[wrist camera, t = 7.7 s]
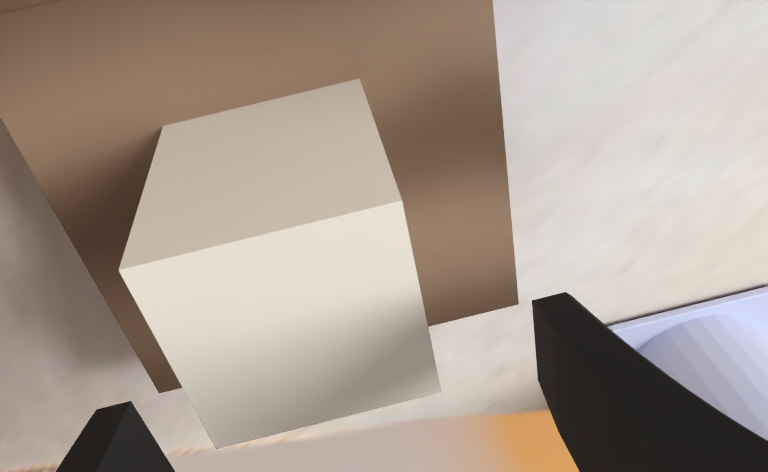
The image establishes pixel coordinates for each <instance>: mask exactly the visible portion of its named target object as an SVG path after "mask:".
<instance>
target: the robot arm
mask: <svg viewBox="0 0 768 472" xmlns="http://www.w3.org/2000/svg"><path fill="white" fill-rule="evenodd" d="M532 306H533V320H534V333H535V346H536V359H537V372H538V381H539V383H540V386H541V388H542V391H543V394H544V396H545V399H546V401H547V404H548V407H549V409H550V412H551V414H552V416H553V419H554V421H555V424H556V426H557V428H558V431H559V433H560V435H561V437H562V439H563V441H564V443H565V445H566V447H567V448H568V450H569V452H570V454H571V456H572V458H573V460H574V462H575V463H576V465H577V467H578V469H579V471H580V472H768V286H767V287H763V288H759V289H755V290H751V291H747V292H743V293H739V294H735V295H731V296H727V297H723V298H719V299H715V300H711V301H707V302H703V303H699V304H695V305H691V306H687V307H683V308H679V309H675V310H671V311H667V312H663V313H659V314H655V315H651V316H647V317H643V318H639V319H635V320H631V321H627V322H623V323H619V324H615V325H611V326H608V327H607V326H606V325H605V324H603V323H602V322H601V321H600V320H599V319H598V318H596V317H595V316H594V315H593V314H592V313H591V312H589V311H588V310H587V309H586V308H585V307H584V306H583V305H581V304H580V303H579V302H578V301H577V300H576V299H575V298H574V297H573V296H571V295H570V294H568V293H566V292H564V293H560V294H556V295H552V296H548V297H544V298H540V299H536V300H532ZM56 472H175V471H174V469H173V468H172V466H171V464H170V463H169V461H168V460H167V458H166V456H165V455H164V453H163V452H162V450H161V448H160V447H159V445H158V444H157V442H156V441H155V439H154V437H153V436H152V434H151V433H150V431H149V429H148V428H147V426H146V425H145V423H144V421H143V420H142V418H141V417H140V415H139V413H138V412H137V410H136V409H135V407H134V405H133V404H132V402H131V401H129V402H125V403H121V404H117V405H113V406H109V407H105V408H101V409H97V410H96V411H95V413H94V414H93V416H92V417H91V418H90V420H89V421H88V423H87V424H86V426H85V427H84V429H83V430H82V432H81V434H80V435H79V437H78V438H77V440H76V441H75V443H74V444H73V446H72V447H71V449H70V451H69V452H68V454H67V455H66V457H65V458H64V460H63V461H62V463H61V464H60V466H59V467H58V469H57V471H56Z"/></svg>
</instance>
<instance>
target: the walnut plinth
mask: <svg viewBox="0 0 768 472" xmlns="http://www.w3.org/2000/svg"><path fill="white" fill-rule="evenodd" d="M355 79H360V81H361V84H362V87H363V90H364V92H365V95H366V98H367V101H368V104H369V107H370V110H371V113H372V115H373V118H374V121H375V124H376V127H377V130H378V133H379V136H380V138H381V141H382V144H383V147H384V150H385V153H386V156H387V158H388V161H389V164H390V167H391V170H392V173H393V176H394V179H395V181H396V184H397V187H398V190H399V193H400V196H401V199H402V202H403V207H404V212H405V217H406V222H407V227H408V232H409V237H410V241H411V246H412V251H413V256H414V261H415V266H416V271H417V276H418V281H419V285H420V290H421V295H422V300H423V305H424V310H425V315H426V320H427V325H428V326H432V325H436V324H440V323H444V322H448V321H453V320H457V319H461V318H465V317H469V316H473V315H477V314H481V313H485V312H489V311H493V310H497V309H501V308H505V307H509V306H513V305H517V304H519V303H518V292H517V280H516V269H515V257H514V245H513V234H512V222H511V211H510V199H509V188H508V176H507V165H506V153H505V141H504V130H503V118H502V107H501V95H500V84H499V72H498V60H497V49H496V37H495V26H494V14H493V3H492V0H0V118H1V120H2V121H3V123H4V125H5V127H6V128H7V130H8V132H9V134H10V135H11V137H12V139H13V141H14V142H15V144H16V146H17V147H18V149H19V151H20V153H21V154H22V156H23V158H24V160H25V161H26V163H27V165H28V167H29V168H30V170H31V172H32V173H33V175H34V177H35V179H36V180H37V182H38V184H39V186H40V187H41V189H42V191H43V193H44V194H45V196H46V198H47V199H48V201H49V203H50V205H51V206H52V208H53V210H54V212H55V213H56V215H57V217H58V219H59V220H60V222H61V224H62V225H63V227H64V229H65V231H66V232H67V234H68V236H69V238H70V239H71V241H72V243H73V245H74V246H75V248H76V250H77V251H78V253H79V255H80V257H81V258H82V260H83V262H84V264H85V265H86V267H87V269H88V271H89V272H90V274H91V276H92V278H93V279H94V281H95V283H96V284H97V286H98V288H99V290H100V291H101V293H102V295H103V297H104V298H105V300H106V302H107V304H108V305H109V307H110V309H111V310H112V312H113V314H114V316H115V317H116V319H117V321H118V323H119V324H120V326H121V328H122V330H123V331H124V333H125V335H126V336H127V338H128V340H129V342H130V343H131V345H132V347H133V349H134V350H135V352H136V354H137V356H138V357H139V359H140V361H141V362H142V364H143V366H144V368H145V369H146V371H147V373H148V375H149V376H150V378H151V380H152V382H153V383H154V385H155V387H156V388H157V390H158V392H159V393H162V392H166V391H170V390H174V389H178V388H182V386H181V384H180V382H179V380H178V378H177V377H176V375H175V373H174V371H173V369H172V367H171V366H170V364H169V362H168V360H167V358H166V356H165V355H164V353H163V351H162V349H161V347H160V345H159V344H158V342H157V340H156V338H155V336H154V334H153V333H152V331H151V329H150V327H149V325H148V323H147V322H146V320H145V318H144V316H143V314H142V312H141V311H140V309H139V307H138V305H137V303H136V302H135V300H134V298H133V296H132V294H131V292H130V291H129V289H128V287H127V285H126V283H125V281H124V280H123V278H122V276H121V274H120V272H119V267H120V264H121V260H122V257H123V254H124V251H125V248H126V244H127V241H128V238H129V235H130V231H131V228H132V225H133V222H134V218H135V215H136V212H137V209H138V205H139V202H140V199H141V196H142V193H143V189H144V186H145V183H146V180H147V176H148V173H149V170H150V167H151V163H152V160H153V157H154V154H155V151H156V147H157V144H158V141H159V138H160V134H161V131H162V128H163V126H165V125H169V124H174V123H178V122H182V121H186V120H190V119H194V118H198V117H203V116H207V115H211V114H215V113H219V112H223V111H227V110H231V109H236V108H240V107H244V106H248V105H252V104H256V103H260V102H264V101H269V100H273V99H277V98H281V97H285V96H289V95H293V94H298V93H302V92H306V91H310V90H314V89H318V88H322V87H326V86H331V85H335V84H339V83H343V82H347V81H351V80H355Z"/></svg>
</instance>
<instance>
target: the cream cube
mask: <svg viewBox="0 0 768 472" xmlns="http://www.w3.org/2000/svg"><path fill="white" fill-rule="evenodd" d="M119 272H120V274H121V276H122V278H123V280H124V281H125V283H126V285H127V287H128V289H129V291H130V292H131V294H132V296H133V298H134V300H135V302H136V303H137V305H138V307H139V309H140V311H141V312H142V314H143V316H144V318H145V320H146V322H147V323H148V325H149V327H150V329H151V331H152V333H153V334H154V336H155V338H156V340H157V342H158V344H159V345H160V347H161V349H162V351H163V353H164V355H165V356H166V358H167V360H168V362H169V364H170V366H171V367H172V369H173V371H174V373H175V375H176V377H177V378H178V380H179V382H180V384H181V386H182V388H183V389H184V391H185V393H186V395H187V397H188V398H189V400H190V402H191V404H192V406H193V408H194V409H195V411H196V413H197V415H198V417H199V419H200V420H201V422H202V424H203V426H204V428H205V430H206V431H207V433H208V435H209V437H210V439H211V441H212V442H213V444H214V446H215V448H216V449H218V448H222V447H226V446H230V445H234V444H238V443H242V442H246V441H250V440H254V439H258V438H262V437H266V436H270V435H274V434H278V433H282V432H286V431H290V430H294V429H298V428H302V427H306V426H309V425H313V424H317V423H321V422H325V421H329V420H333V419H337V418H341V417H345V416H349V415H353V414H357V413H361V412H365V411H369V410H373V409H377V408H381V407H385V406H389V405H393V404H397V403H400V402H404V401H408V400H412V399H416V398H420V397H424V396H428V395H432V394H436V393H440V392H441V388H440V383H439V378H438V374H437V369H436V364H435V359H434V354H433V349H432V344H431V339H430V334H429V329H428V325H427V320H426V315H425V310H424V305H423V300H422V295H421V290H420V285H419V281H418V276H417V271H416V266H415V261H414V256H413V251H412V246H411V241H410V237H409V232H408V227H407V222H406V217H405V212H404V207H403V202H402V199H401V196H400V193H399V190H398V187H397V184H396V181H395V179H394V176H393V173H392V170H391V167H390V164H389V161H388V158H387V156H386V153H385V150H384V147H383V144H382V141H381V138H380V136H379V133H378V130H377V127H376V124H375V121H374V118H373V115H372V113H371V110H370V107H369V104H368V101H367V98H366V95H365V92H364V90H363V87H362V84H361V81H360V79H355V80H351V81H347V82H343V83H339V84H335V85H331V86H326V87H322V88H318V89H314V90H310V91H306V92H302V93H298V94H293V95H289V96H285V97H281V98H277V99H273V100H269V101H264V102H260V103H256V104H252V105H248V106H244V107H240V108H236V109H231V110H227V111H223V112H219V113H215V114H211V115H207V116H203V117H198V118H194V119H190V120H186V121H182V122H178V123H174V124H169V125H165V126H163V128H162V131H161V134H160V138H159V141H158V144H157V147H156V151H155V154H154V157H153V160H152V163H151V167H150V170H149V173H148V176H147V180H146V183H145V186H144V189H143V193H142V196H141V199H140V202H139V205H138V209H137V212H136V215H135V218H134V222H133V225H132V228H131V231H130V235H129V238H128V241H127V244H126V248H125V251H124V254H123V257H122V260H121V264H120V267H119Z"/></svg>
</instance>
